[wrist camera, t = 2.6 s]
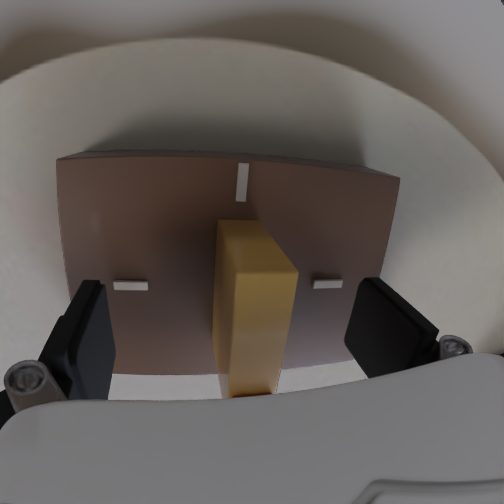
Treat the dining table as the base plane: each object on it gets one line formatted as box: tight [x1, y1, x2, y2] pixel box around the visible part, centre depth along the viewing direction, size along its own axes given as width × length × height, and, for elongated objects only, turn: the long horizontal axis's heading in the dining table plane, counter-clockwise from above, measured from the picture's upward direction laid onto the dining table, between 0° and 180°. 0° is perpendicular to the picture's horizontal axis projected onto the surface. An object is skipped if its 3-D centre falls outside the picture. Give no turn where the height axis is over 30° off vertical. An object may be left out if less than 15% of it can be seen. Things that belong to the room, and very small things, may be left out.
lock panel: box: [56, 150, 400, 375], centre depth 14 cm, size 10×14×3 cm
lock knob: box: [212, 219, 299, 399], centre depth 11 cm, size 6×2×5 cm, turn 175°
